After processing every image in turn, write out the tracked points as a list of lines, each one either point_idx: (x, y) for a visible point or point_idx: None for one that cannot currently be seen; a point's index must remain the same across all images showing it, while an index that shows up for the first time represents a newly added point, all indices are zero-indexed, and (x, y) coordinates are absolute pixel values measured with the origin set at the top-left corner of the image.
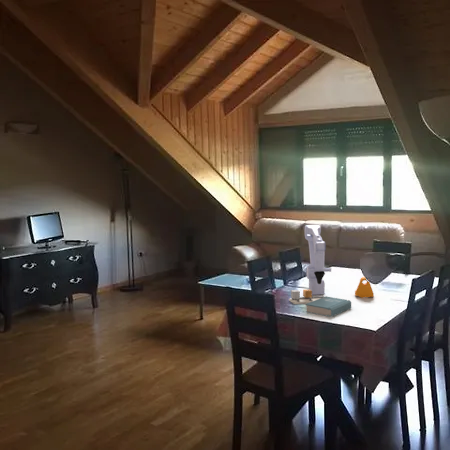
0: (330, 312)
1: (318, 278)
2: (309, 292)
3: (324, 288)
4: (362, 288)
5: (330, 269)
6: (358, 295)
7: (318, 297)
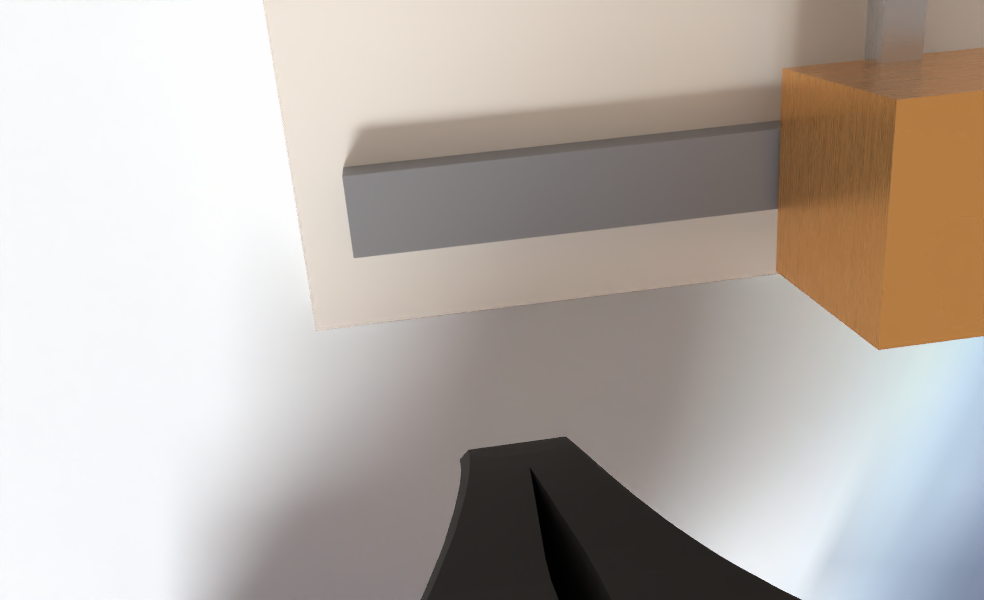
0: None
1: (730, 563)
2: (960, 77)
3: None
4: None
5: None
6: None
7: (527, 152)
